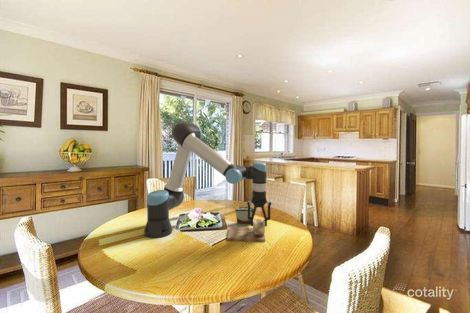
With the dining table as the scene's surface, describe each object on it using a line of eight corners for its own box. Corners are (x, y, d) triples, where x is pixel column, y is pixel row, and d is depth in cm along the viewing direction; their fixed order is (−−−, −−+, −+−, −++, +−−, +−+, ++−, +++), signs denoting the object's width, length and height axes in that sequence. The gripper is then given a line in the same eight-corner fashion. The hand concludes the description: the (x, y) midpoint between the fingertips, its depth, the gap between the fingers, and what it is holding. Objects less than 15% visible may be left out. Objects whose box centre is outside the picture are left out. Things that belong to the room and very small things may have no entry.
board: (227, 240, 126) (227, 238, 126) (229, 229, 142) (229, 227, 142) (265, 241, 125) (265, 239, 125) (263, 230, 141) (263, 228, 141)
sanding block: (254, 235, 128) (254, 224, 128) (253, 229, 137) (253, 219, 137) (263, 235, 128) (264, 224, 128) (262, 229, 137) (262, 219, 137)
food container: (254, 221, 156) (254, 206, 155) (254, 224, 150) (254, 209, 149) (235, 220, 157) (235, 205, 156) (234, 224, 151) (234, 208, 150)
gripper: (242, 191, 128) (242, 233, 130) (276, 192, 127) (275, 234, 129) (242, 188, 135) (242, 228, 137) (274, 189, 135) (274, 229, 136)
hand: (258, 231), depth 133 cm, fingers closed on sanding block, 5 cm apart
